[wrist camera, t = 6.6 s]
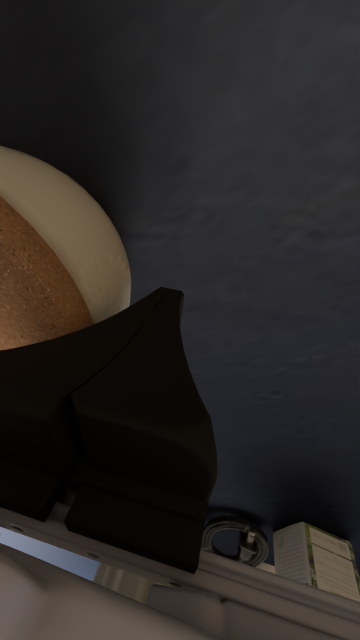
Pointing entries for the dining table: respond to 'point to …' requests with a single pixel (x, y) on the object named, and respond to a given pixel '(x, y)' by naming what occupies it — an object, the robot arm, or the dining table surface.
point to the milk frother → (249, 548)
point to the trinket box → (54, 254)
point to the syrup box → (316, 559)
